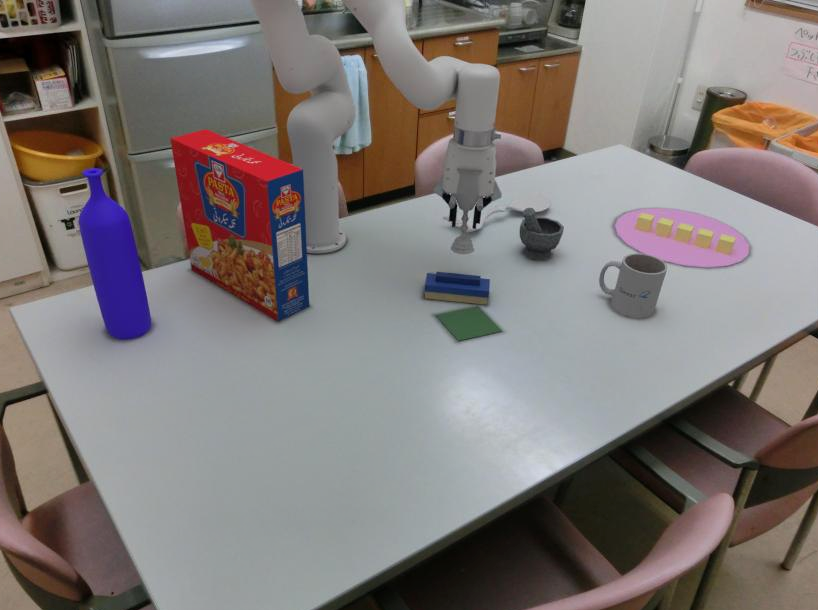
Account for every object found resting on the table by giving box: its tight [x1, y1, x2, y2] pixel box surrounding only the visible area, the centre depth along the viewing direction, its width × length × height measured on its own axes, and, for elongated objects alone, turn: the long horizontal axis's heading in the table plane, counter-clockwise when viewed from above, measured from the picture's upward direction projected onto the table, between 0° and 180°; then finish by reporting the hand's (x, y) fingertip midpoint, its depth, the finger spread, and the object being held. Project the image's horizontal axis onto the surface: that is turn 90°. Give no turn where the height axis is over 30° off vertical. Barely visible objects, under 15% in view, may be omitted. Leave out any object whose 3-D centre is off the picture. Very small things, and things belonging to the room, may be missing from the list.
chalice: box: [449, 169, 482, 255], centre depth 139 cm, size 7×7×18 cm
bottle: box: [78, 167, 152, 340], centre depth 118 cm, size 8×8×30 cm
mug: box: [598, 252, 668, 319], centre depth 139 cm, size 12×9×10 cm
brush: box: [424, 271, 491, 306], centre depth 140 cm, size 13×5×5 cm, turn 83°
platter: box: [614, 207, 750, 269], centre depth 168 cm, size 32×32×3 cm
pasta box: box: [170, 128, 310, 323], centre depth 132 cm, size 28×8×28 cm, turn 49°
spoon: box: [442, 193, 552, 233], centre depth 171 cm, size 9×32×4 cm, turn 128°
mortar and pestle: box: [519, 208, 565, 261], centre depth 155 cm, size 11×9×12 cm
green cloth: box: [435, 305, 503, 342], centre depth 134 cm, size 10×10×1 cm
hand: (464, 224), depth 141 cm, fingers closed on chalice, 3 cm apart
